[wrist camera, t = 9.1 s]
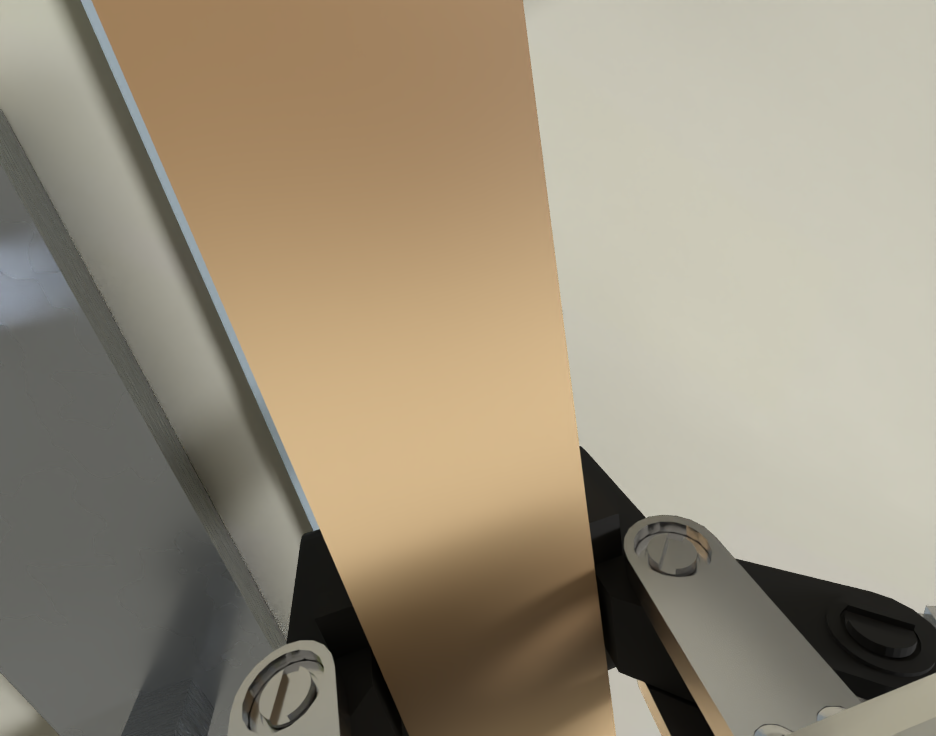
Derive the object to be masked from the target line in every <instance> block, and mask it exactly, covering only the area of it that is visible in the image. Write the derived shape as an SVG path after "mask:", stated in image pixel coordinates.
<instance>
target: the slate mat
mask: <svg viewBox="0 0 936 736" xmlns="http://www.w3.org/2000/svg"><path fill="white" fill-rule="evenodd" d="M81 2H82V5H83V7H84V9H85V11H86V14H87V16H88V18H89V20H90V23H91V25H92V27H93V30H94V32H95V34H96V36H97V39H98V41H99V43H100V46H101V48H102V50H103V52H104V55H105V57H106V59H107V61H108V64H109V66H110V68H111V71H112V73H113V75H114V77H115V80H116V82H117V84H118V87H119V89H120V91H121V93H122V96H123V98H124V100H125V103H126V105H127V107H128V109H129V112H130V114H131V116H132V118H133V121H134V123H135V125H136V128H137V130H138V132H139V134H140V137H141V139H142V141H143V144H144V146H145V148H146V150H147V153H148V155H149V157H150V159H151V162H152V164H153V166H154V169H155V171H156V173H157V175H158V178H159V180H160V182H161V185H162V187H163V189H164V191H165V194H166V196H167V198H168V201H169V203H170V205H171V207H172V210H173V212H174V214H175V216H176V219H177V221H178V223H179V226H180V228H181V230H182V232H183V235H184V237H185V239H186V242H187V244H188V246H189V248H190V251H191V253H192V255H193V257H194V260H195V262H196V264H197V267H198V269H199V271H200V273H201V276H202V278H203V280H204V283H205V285H206V287H207V289H208V292H209V294H210V296H211V299H212V301H213V303H214V305H215V308H216V310H217V312H218V314H219V317H220V319H221V321H222V324H223V326H224V328H225V330H226V333H227V335H228V337H229V340H230V342H231V344H232V346H233V349H234V351H235V353H236V355H237V358H238V360H239V362H240V365H241V367H242V369H243V371H244V374H245V376H246V378H247V381H248V383H249V385H250V387H251V390H252V392H253V394H254V397H255V399H256V401H257V403H258V406H259V408H260V410H261V412H262V415H263V417H264V419H265V422H266V424H267V426H268V428H269V431H270V433H271V435H272V438H273V440H274V442H275V444H276V447H277V449H278V451H279V453H280V456H281V458H282V460H283V463H284V465H285V467H286V469H287V472H288V474H289V476H290V479H291V481H292V483H293V485H294V488H295V490H296V492H297V495H298V497H299V499H300V501H301V504H302V506H303V508H304V510H305V513H306V515H307V517H308V520H309V522H310V524H311V526H312V529H313V531H315V530H318V529H320V528H319V526H318V524H317V521H316V519H315V517H314V514H313V512H312V510H311V507H310V505H309V503H308V501H307V498H306V496H305V494H304V491H303V489H302V487H301V484H300V482H299V480H298V477H297V475H296V473H295V470H294V468H293V466H292V464H291V461H290V459H289V457H288V454H287V452H286V450H285V447H284V445H283V443H282V440H281V438H280V436H279V433H278V431H277V429H276V426H275V424H274V422H273V420H272V417H271V415H270V413H269V410H268V408H267V406H266V403H265V401H264V399H263V396H262V394H261V392H260V389H259V387H258V385H257V383H256V380H255V378H254V376H253V373H252V371H251V369H250V366H249V364H248V362H247V359H246V357H245V355H244V352H243V350H242V348H241V345H240V343H239V341H238V339H237V336H236V334H235V332H234V329H233V327H232V325H231V322H230V320H229V318H228V315H227V313H226V311H225V308H224V306H223V304H222V302H221V299H220V297H219V295H218V292H217V290H216V288H215V285H214V283H213V281H212V278H211V276H210V274H209V271H208V269H207V267H206V264H205V262H204V260H203V258H202V255H201V253H200V251H199V248H198V246H197V244H196V241H195V239H194V237H193V234H192V232H191V230H190V227H189V225H188V223H187V221H186V218H185V216H184V214H183V211H182V209H181V207H180V204H179V202H178V200H177V197H176V195H175V193H174V190H173V188H172V186H171V183H170V181H169V179H168V177H167V174H166V172H165V170H164V167H163V165H162V163H161V160H160V158H159V156H158V153H157V151H156V149H155V146H154V144H153V142H152V140H151V137H150V135H149V133H148V130H147V128H146V126H145V123H144V121H143V119H142V116H141V114H140V112H139V109H138V107H137V105H136V102H135V100H134V98H133V96H132V93H131V91H130V89H129V86H128V84H127V82H126V79H125V77H124V75H123V72H122V70H121V68H120V65H119V63H118V61H117V59H116V56H115V54H114V52H113V49H112V47H111V45H110V42H109V40H108V38H107V35H106V33H105V31H104V28H103V26H102V24H101V21H100V19H99V17H98V15H97V12H96V10H95V8H94V5H93V3H92V1H91V0H81Z"/></svg>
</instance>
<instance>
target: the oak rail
mask: <svg viewBox="0 0 936 736" xmlns="http://www.w3.org/2000/svg"><path fill="white" fill-rule="evenodd" d="M91 1H92V3H93V5H94V8H95V10H96V12H97V15H98V17H99V19H100V21H101V24H102V26H103V28H104V31H105V33H106V35H107V38H108V40H109V42H110V45H111V47H112V49H113V52H114V54H115V56H116V59H117V61H118V63H119V65H120V68H121V70H122V72H123V75H124V77H125V79H126V82H127V84H128V86H129V89H130V91H131V93H132V96H133V98H134V100H135V102H136V105H137V107H138V109H139V112H140V114H141V116H142V119H143V121H144V123H145V126H146V128H147V130H148V133H149V135H150V137H151V140H152V142H153V144H154V146H155V149H156V151H157V153H158V156H159V158H160V160H161V163H162V165H163V167H164V170H165V172H166V174H167V177H168V179H169V181H170V183H171V186H172V188H173V190H174V193H175V195H176V197H177V200H178V202H179V204H180V207H181V209H182V211H183V214H184V216H185V218H186V221H187V223H188V225H189V227H190V230H191V232H192V234H193V237H194V239H195V241H196V244H197V246H198V248H199V251H200V253H201V255H202V258H203V260H204V262H205V264H206V267H207V269H208V271H209V274H210V276H211V278H212V281H213V283H214V285H215V288H216V290H217V292H218V295H219V297H220V299H221V302H222V304H223V306H224V308H225V311H226V313H227V315H228V318H229V320H230V322H231V325H232V327H233V329H234V332H235V334H236V336H237V339H238V341H239V343H240V345H241V348H242V350H243V352H244V355H245V357H246V359H247V362H248V364H249V366H250V369H251V371H252V373H253V376H254V378H255V380H256V383H257V385H258V387H259V389H260V392H261V394H262V396H263V399H264V401H265V403H266V406H267V408H268V410H269V413H270V415H271V417H272V420H273V422H274V424H275V426H276V429H277V431H278V433H279V436H280V438H281V440H282V443H283V445H284V447H285V450H286V452H287V454H288V457H289V459H290V461H291V464H292V466H293V468H294V470H295V473H296V475H297V477H298V480H299V482H300V484H301V487H302V489H303V491H304V494H305V496H306V498H307V501H308V503H309V505H310V507H311V510H312V512H313V514H314V517H315V519H316V521H317V524H318V526H319V528H320V531H321V533H322V535H323V538H324V540H325V542H326V545H327V547H328V549H329V551H330V554H331V556H332V558H333V561H334V563H335V565H336V568H337V570H338V572H339V575H340V577H341V579H342V582H343V584H344V586H345V588H346V591H347V593H348V595H349V598H350V600H351V602H352V605H353V607H354V609H355V612H356V614H357V616H358V619H359V621H360V623H361V626H362V628H363V630H364V632H365V635H366V637H367V639H368V642H369V644H370V646H371V649H372V651H373V653H374V656H375V658H376V660H377V663H378V665H379V667H380V669H381V672H382V674H383V676H384V679H385V681H386V683H387V686H388V688H389V690H390V693H391V695H392V697H393V700H394V702H395V704H396V707H397V709H398V711H399V713H400V716H401V718H402V720H403V723H404V725H405V727H406V730H407V732H408V734H409V736H616V733H615V725H614V717H613V709H612V701H611V693H610V685H609V677H608V669H607V661H606V654H605V646H604V638H603V630H602V622H601V614H600V606H599V598H598V590H597V583H596V575H595V567H594V559H593V551H592V543H591V535H590V527H589V519H588V511H587V504H586V496H585V488H584V480H583V472H582V464H581V456H580V448H579V440H578V433H577V425H576V417H575V409H574V401H573V393H572V385H571V377H570V369H569V361H568V354H567V346H566V338H565V330H564V322H563V314H562V306H561V298H560V290H559V283H558V275H557V267H556V259H555V251H554V243H553V235H552V227H551V219H550V211H549V204H548V196H547V188H546V180H545V172H544V164H543V156H542V148H541V140H540V132H539V125H538V117H537V109H536V101H535V93H534V85H533V77H532V69H531V61H530V54H529V46H528V38H527V30H526V22H525V14H524V6H523V0H91Z"/></svg>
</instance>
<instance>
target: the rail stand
mask: <svg viewBox="0 0 936 736" xmlns="http://www.w3.org/2000/svg"><path fill="white" fill-rule="evenodd" d="M286 644H287V642H286V640H285V638H284V636H283V634H282V632H281V630H280V629H279V627H278V625H277V623H276V621H275V619H274V617H273V615H272V614H271V612H270V610H269V608H268V606H267V604H266V602H265V601H264V599H263V597H262V595H261V593H260V591H259V589H258V587H257V586H256V584H255V582H254V580H253V578H252V576H251V574H250V573H249V571H248V569H247V567H246V565H245V563H244V561H243V559H242V558H241V556H240V554H239V552H238V550H237V548H236V546H235V545H234V543H233V541H232V539H231V537H230V535H229V533H228V531H227V530H226V528H225V526H224V524H223V522H222V520H221V518H220V517H219V515H218V513H217V511H216V509H215V507H214V505H213V503H212V502H211V500H210V498H209V496H208V494H207V492H206V490H205V489H204V487H203V485H202V483H201V481H200V479H199V477H198V475H197V474H196V472H195V470H194V468H193V466H192V464H191V462H190V461H189V459H188V457H187V455H186V453H185V451H184V449H183V447H182V446H181V444H180V442H179V440H178V438H177V436H176V434H175V433H174V431H173V429H172V427H171V425H170V423H169V421H168V420H167V418H166V416H165V414H164V412H163V410H162V408H161V406H160V405H159V403H158V401H157V399H156V397H155V395H154V393H153V392H152V390H151V388H150V386H149V384H148V382H147V380H146V378H145V377H144V375H143V373H142V371H141V369H140V367H139V365H138V364H137V362H136V360H135V358H134V356H133V354H132V352H131V350H130V349H129V347H128V345H127V343H126V341H125V339H124V337H123V336H122V334H121V332H120V330H119V328H118V326H117V324H116V322H115V321H114V319H113V317H112V315H111V313H110V311H109V309H108V308H107V306H106V304H105V302H104V300H103V298H102V296H101V294H100V293H99V291H98V289H97V287H96V285H95V283H94V281H93V280H92V278H91V276H90V274H89V272H88V270H87V268H86V266H85V265H84V263H83V261H82V259H81V257H80V255H79V253H78V252H77V250H76V248H75V246H74V244H73V242H72V240H71V238H70V237H69V235H68V233H67V231H66V229H65V227H64V225H63V224H62V222H61V220H60V218H59V216H58V214H57V212H56V210H55V209H54V207H53V205H52V203H51V201H50V199H49V197H48V196H47V194H46V192H45V190H44V188H43V186H42V184H41V182H40V181H39V179H38V177H37V175H36V173H35V171H34V169H33V168H32V166H31V164H30V162H29V160H28V158H27V156H26V154H25V153H24V151H23V149H22V147H21V145H20V143H19V141H18V140H17V138H16V136H15V134H14V132H13V130H12V128H11V126H10V125H9V123H8V121H7V119H6V117H5V115H4V113H3V112H2V110H1V109H0V672H1V673H2V675H3V676H4V677H5V678H6V679H7V680H8V681H9V682H10V683H11V684H12V685H13V686H14V687H15V688H16V689H17V690H18V692H19V693H20V694H21V695H22V696H23V697H24V698H25V699H26V700H27V701H28V702H29V703H30V704H31V705H32V706H33V707H34V709H35V710H36V711H37V712H38V713H39V714H40V715H41V716H42V717H43V718H44V719H45V720H46V721H47V722H48V723H49V725H50V726H51V727H52V728H53V729H54V730H55V731H56V732H57V733H58V734H59V735H60V736H227V734H228V727H229V719H230V712H231V709H232V705H233V702H234V698H235V695H236V694H237V692H238V690H239V688H240V686H241V685H242V683H243V681H244V679H245V678H246V677H247V676H248V675H249V673H250V672H251V671H252V670H253V668H254V667H255V666H256V665H257V664H258V663H259V662H261V661H262V660H263V659H264V658H265V657H267V656H268V655H269V654H270V653H272V652H273V651H275V650H277V649H279V648H281V647H282V646H284V645H286Z"/></svg>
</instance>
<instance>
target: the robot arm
mask: <svg viewBox="0 0 936 736" xmlns="http://www.w3.org/2000/svg"><path fill="white" fill-rule="evenodd" d="M579 448H580V456H581V464H582V472H583V480H584V488H585V496H586V504H587V511H588V519H589V527H590V535H591V543H592V551H593V559H594V567H595V575H596V583H597V590H598V598H599V606H600V614H601V622H602V630H603V638H604V646H605V654H606V661H607V669H608V670H610V669H612V668H615V667H616V668H617V669H618V671H619V672H620V673H623V674H625V675H628V676H630V677H632V678H635V679H637V682H638V686H639V688H640V691H641V693H642V695H643V697H644V699H645V701H646V703H647V705H648V708H649V710H650V712H651V714H652V716H653V718H654V720H655V722H656V725H657V727H658V729H659V731H660V733H661V735H662V736H936V606H926V608H925V611H924V614H920V613H917V612H915V611H914V610H913V609H911V608H909V607H907V606H905V605H903V604H901V603H899V602H897V601H895V600H893V599H891V598H888V597H885V596H882V595H879V594H876V593H873V592H870V591H866V590H862V589H858V588H854V587H850V586H846V585H841V584H837V583H833V582H829V581H825V580H821V579H817V578H813V577H809V576H804V575H800V574H796V573H792V572H788V571H784V570H780V569H776V568H772V567H768V566H763V565H759V564H755V563H751V562H747V561H743V560H739V559H735V558H734V557H733V556H732V555H731V554H730V553H729V551H728V550H727V549H726V548H725V547H724V546H723V545H722V543H721V542H720V541H719V540H718V539H717V538H716V537H715V536H714V535H713V534H712V533H711V532H710V531H709V530H707V529H706V528H705V527H704V526H702V525H700V524H698V523H696V522H694V521H692V520H690V519H686V518H683V517H679V516H671V515H658V516H651V517H647V518H645V516H644V515H643V514H642V513H641V512H640V511H639V510H638V509H637V507H636V506H635V505H634V504H633V503H632V502H631V501H630V500H629V498H628V497H627V496H626V495H625V494H624V493H623V492H622V491H621V490H620V488H619V487H618V486H617V485H616V484H615V483H614V482H613V481H612V479H611V478H610V477H609V476H608V475H607V474H606V473H605V472H604V471H603V469H602V468H601V467H600V466H599V465H598V464H597V463H596V462H595V460H594V459H593V458H592V457H591V456H590V455H589V454H588V453H587V452H586V450H585V449H583V448H582V447H581V446H579ZM227 736H409V734H408V732H407V730H406V727H405V725H404V723H403V720H402V718H401V716H400V713H399V711H398V709H397V707H396V704H395V702H394V700H393V697H392V695H391V693H390V690H389V688H388V686H387V683H386V681H385V679H384V676H383V674H382V672H381V669H380V667H379V665H378V663H377V660H376V658H375V656H374V653H373V651H372V649H371V646H370V644H369V642H368V639H367V637H366V635H365V632H364V630H363V628H362V626H361V623H360V621H359V619H358V616H357V614H356V612H355V609H354V607H353V605H352V602H351V600H350V598H349V595H348V593H347V591H346V588H345V586H344V584H343V582H342V579H341V577H340V575H339V572H338V570H337V568H336V565H335V563H334V561H333V558H332V556H331V554H330V551H329V549H328V547H327V545H326V542H325V540H324V538H323V535H322V533H321V531H320V529H318V530H315V531H312V532H309V533H306V534H304V535H303V536H302V539H301V543H300V550H299V557H298V564H297V572H296V579H295V586H294V593H293V601H292V608H291V615H290V622H289V629H288V637H287V644H286V645H284V646H282V647H281V648H279V649H277V650H275V651H273V652H272V653H270V654H269V655H268V656H267V657H265V658H264V659H263V660H262V661H261V662H259V663H258V664H257V665H256V666H255V667H254V668H253V670H252V671H251V672H250V673H249V675H248V676H247V677H246V678H245V679H244V681H243V683H242V685H241V686H240V688H239V690H238V692H237V694H236V695H235V698H234V702H233V705H232V709H231V712H230V719H229V727H228V734H227Z"/></svg>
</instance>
